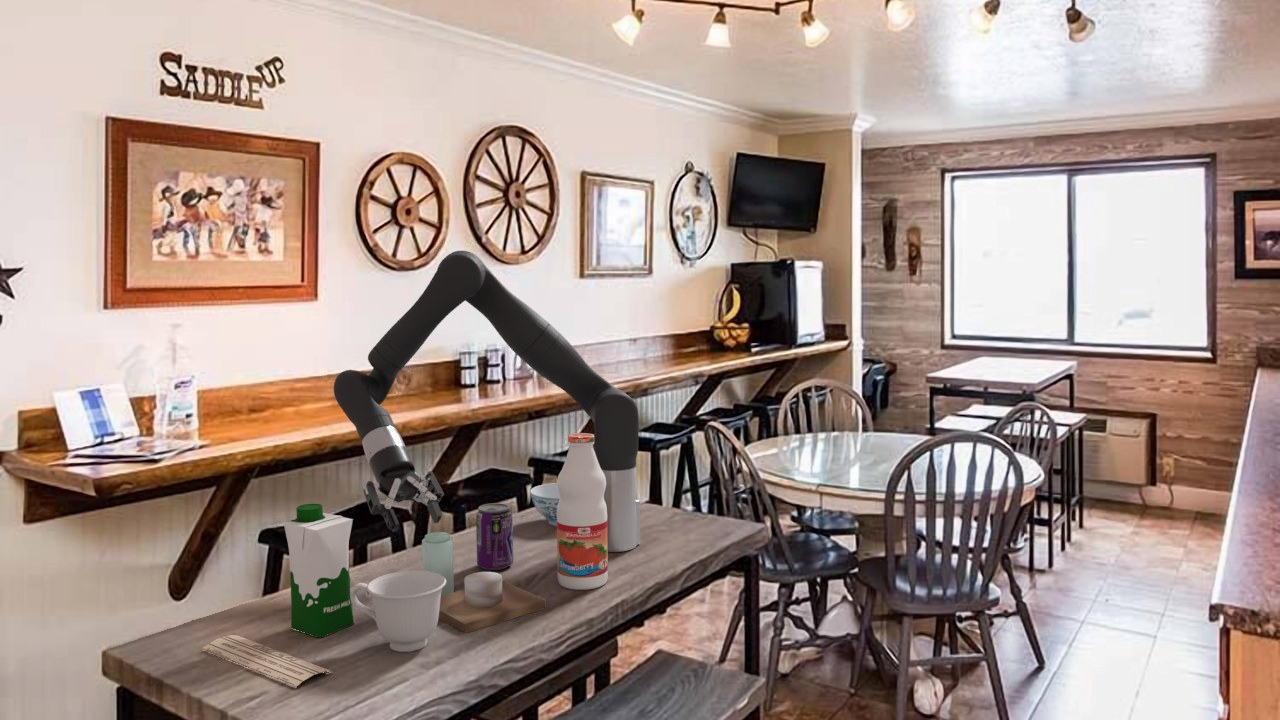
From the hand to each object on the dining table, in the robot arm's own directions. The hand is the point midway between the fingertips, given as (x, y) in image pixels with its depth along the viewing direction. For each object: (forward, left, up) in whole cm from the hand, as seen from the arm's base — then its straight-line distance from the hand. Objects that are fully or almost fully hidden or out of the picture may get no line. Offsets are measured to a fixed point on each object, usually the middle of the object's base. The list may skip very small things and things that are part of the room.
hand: (417, 525), depth 170 cm
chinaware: (-45, -15, -11) cm, 49 cm away
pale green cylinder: (0, +7, -11) cm, 13 cm away
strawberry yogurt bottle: (-23, +20, -11) cm, 33 cm away
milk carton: (+22, +8, -11) cm, 26 cm away
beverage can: (-16, +1, -11) cm, 20 cm away
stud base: (-2, +19, -11) cm, 22 cm away
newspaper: (+33, +15, -12) cm, 39 cm away
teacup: (+16, +23, -11) cm, 30 cm away
